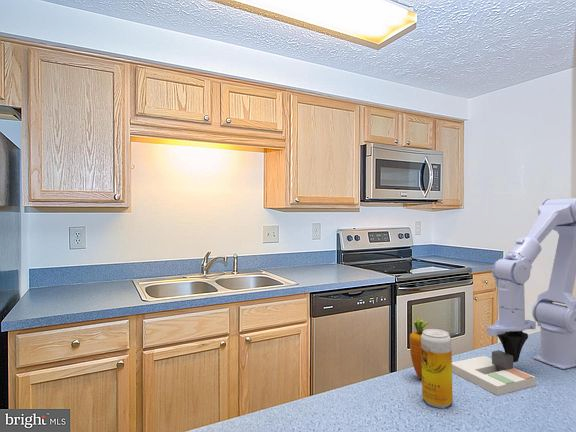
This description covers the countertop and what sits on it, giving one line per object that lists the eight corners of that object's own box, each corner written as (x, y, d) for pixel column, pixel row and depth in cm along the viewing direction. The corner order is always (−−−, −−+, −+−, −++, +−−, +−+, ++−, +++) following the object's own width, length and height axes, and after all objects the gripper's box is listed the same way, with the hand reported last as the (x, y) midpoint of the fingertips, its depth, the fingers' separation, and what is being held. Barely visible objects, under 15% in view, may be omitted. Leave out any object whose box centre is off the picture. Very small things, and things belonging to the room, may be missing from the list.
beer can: (416, 398, 81) (414, 330, 81) (438, 392, 83) (436, 326, 83) (436, 411, 75) (434, 339, 75) (459, 405, 77) (457, 334, 77)
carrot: (412, 373, 93) (411, 314, 93) (433, 377, 91) (431, 317, 91) (408, 381, 89) (406, 319, 89) (429, 385, 87) (428, 322, 86)
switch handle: (499, 368, 93) (498, 350, 93) (513, 375, 90) (513, 355, 90) (492, 370, 93) (491, 351, 93) (506, 376, 89) (505, 357, 89)
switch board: (484, 363, 98) (484, 354, 98) (535, 385, 85) (535, 376, 85) (449, 370, 94) (449, 362, 94) (497, 395, 81) (497, 385, 81)
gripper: (517, 300, 99) (518, 350, 99) (476, 306, 94) (477, 359, 94) (543, 306, 92) (544, 360, 92) (500, 313, 87) (502, 370, 87)
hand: (512, 360), depth 92 cm, fingers closed
